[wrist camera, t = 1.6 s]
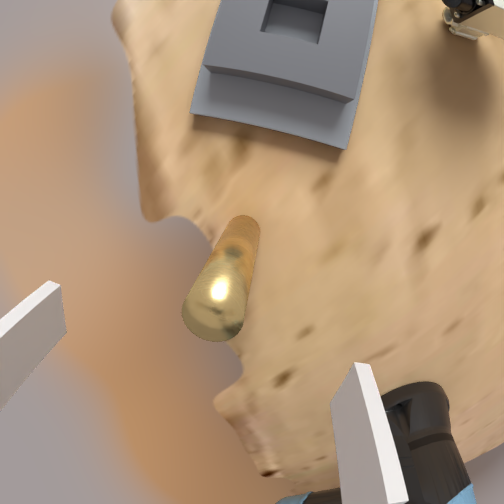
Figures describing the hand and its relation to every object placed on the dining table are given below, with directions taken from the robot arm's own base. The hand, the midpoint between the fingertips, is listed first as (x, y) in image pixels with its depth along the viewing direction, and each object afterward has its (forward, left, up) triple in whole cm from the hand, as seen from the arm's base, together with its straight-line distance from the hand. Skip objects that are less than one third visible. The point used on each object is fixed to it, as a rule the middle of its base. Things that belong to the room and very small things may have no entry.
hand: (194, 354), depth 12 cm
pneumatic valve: (+30, -17, -19) cm, 39 cm away
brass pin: (0, 0, -18) cm, 18 cm away
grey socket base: (+20, 0, -18) cm, 27 cm away
